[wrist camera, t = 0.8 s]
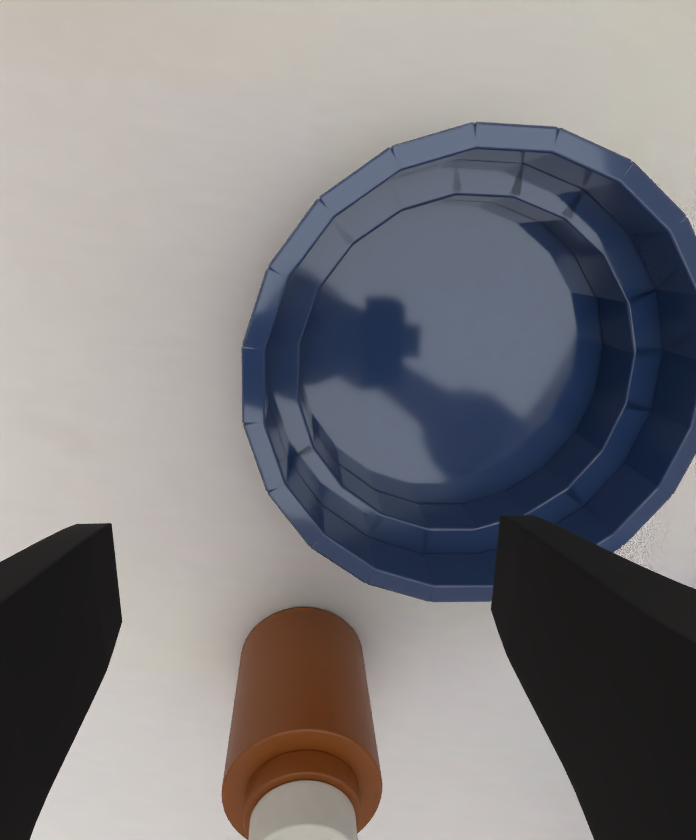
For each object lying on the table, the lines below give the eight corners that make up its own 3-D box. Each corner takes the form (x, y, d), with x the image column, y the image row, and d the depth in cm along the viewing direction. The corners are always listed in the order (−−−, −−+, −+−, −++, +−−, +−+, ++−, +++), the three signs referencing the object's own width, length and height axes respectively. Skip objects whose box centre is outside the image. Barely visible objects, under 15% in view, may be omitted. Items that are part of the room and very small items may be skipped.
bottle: (385, 668, 24) (427, 878, 16) (287, 728, 24) (281, 959, 16) (317, 584, 22) (327, 768, 15) (215, 649, 23) (171, 860, 15)
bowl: (692, 405, 22) (790, 446, 17) (389, 594, 23) (410, 675, 18) (522, 59, 18) (593, 1, 13) (172, 308, 19) (135, 327, 15)
